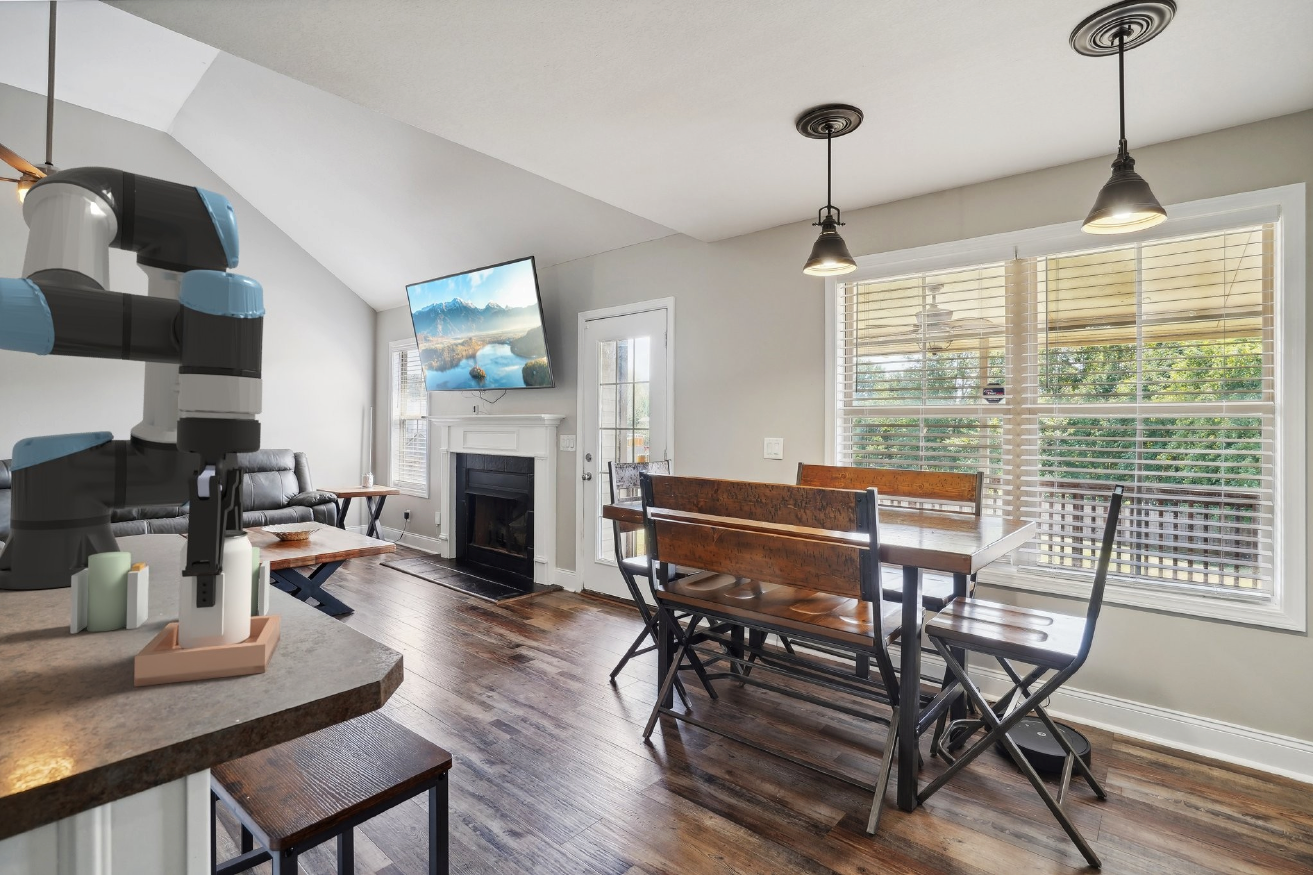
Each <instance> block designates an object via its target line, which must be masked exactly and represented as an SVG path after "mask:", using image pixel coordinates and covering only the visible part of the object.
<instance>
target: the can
mask: <svg viewBox="0 0 1313 875" xmlns="http://www.w3.org/2000/svg"><path fill="white" fill-rule="evenodd" d="M248 535H249V532H248V531H246V530H243V531H240V530H226V531H225V541H224V552H223V562H222V567H223V571H222V572H221V573H225V590H224V632H223V635H222V636H212V637H201V638H191V600H192V576H191V577H183V576H182V570H185V567H186V562H187V541H188V534H187V535H186V536H185V538H186V541H185V543H184V544H183V546H182V548H181V550H180V558H179V559H180V560H179V561H180V562H179V591H178V594H179V596H178V602H179V603H178V622H179V646H180V647H182V649H188V648H199V647H209V646H220V645H231V644H241V643H243V642H245V641H246V639H247V638H248V637H249V636H250V620H251V584H252V547H253V545H252V543H251V542H250V540H249V538H248ZM202 561H207V560H202Z"/></svg>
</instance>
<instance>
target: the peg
mask: <svg viewBox="0 0 1313 875" xmlns="http://www.w3.org/2000/svg"><path fill="white" fill-rule="evenodd" d="M131 557H132V553H131V552H128V551H121V552H107V553H99V554H94V555H90V556H89V557H88V605H87V626H86V630H87V631H88V632H107V631H113V630H119V629H122V628H125V627H127V585H128V573H129V572H130V571H131V570H132V566H131V563H132V562H131V561H132V560H131V559H132V558H131Z"/></svg>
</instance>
